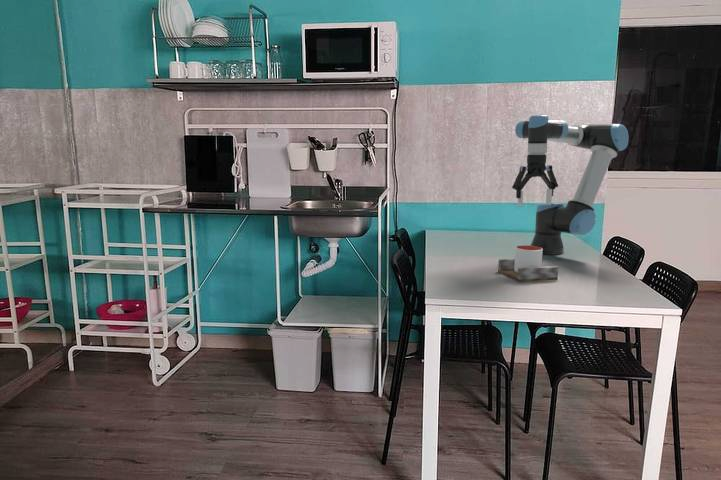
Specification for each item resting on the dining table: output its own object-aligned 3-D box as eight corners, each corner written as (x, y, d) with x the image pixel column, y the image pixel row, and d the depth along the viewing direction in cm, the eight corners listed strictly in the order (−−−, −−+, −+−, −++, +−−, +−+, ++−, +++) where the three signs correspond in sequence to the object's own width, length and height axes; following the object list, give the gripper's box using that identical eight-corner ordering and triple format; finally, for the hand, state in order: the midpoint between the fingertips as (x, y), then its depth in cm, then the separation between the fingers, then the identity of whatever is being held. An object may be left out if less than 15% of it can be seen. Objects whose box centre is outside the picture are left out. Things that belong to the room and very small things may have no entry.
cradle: (533, 269, 218) (534, 257, 217) (557, 279, 202) (558, 267, 201) (497, 271, 214) (498, 259, 213) (519, 282, 199) (520, 268, 198)
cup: (540, 271, 211) (542, 246, 209) (540, 277, 202) (542, 251, 200) (514, 269, 214) (516, 244, 213) (513, 274, 205) (514, 249, 203)
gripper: (557, 152, 227) (554, 202, 231) (504, 154, 220) (503, 205, 224) (568, 153, 220) (565, 204, 224) (514, 155, 213) (512, 208, 217)
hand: (534, 205), depth 224 cm, fingers open, 13 cm apart
